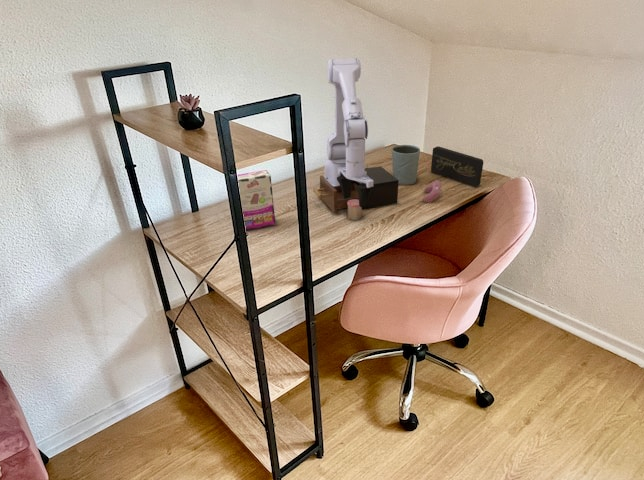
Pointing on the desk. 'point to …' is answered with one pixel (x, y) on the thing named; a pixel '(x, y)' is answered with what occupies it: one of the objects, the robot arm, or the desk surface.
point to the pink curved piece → (432, 191)
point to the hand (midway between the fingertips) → (354, 201)
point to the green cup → (405, 163)
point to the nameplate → (457, 166)
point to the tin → (354, 209)
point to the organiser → (381, 188)
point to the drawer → (334, 195)
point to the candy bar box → (257, 199)
